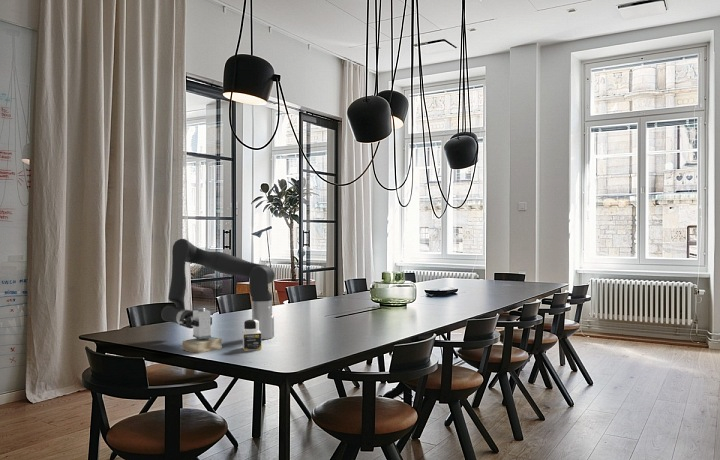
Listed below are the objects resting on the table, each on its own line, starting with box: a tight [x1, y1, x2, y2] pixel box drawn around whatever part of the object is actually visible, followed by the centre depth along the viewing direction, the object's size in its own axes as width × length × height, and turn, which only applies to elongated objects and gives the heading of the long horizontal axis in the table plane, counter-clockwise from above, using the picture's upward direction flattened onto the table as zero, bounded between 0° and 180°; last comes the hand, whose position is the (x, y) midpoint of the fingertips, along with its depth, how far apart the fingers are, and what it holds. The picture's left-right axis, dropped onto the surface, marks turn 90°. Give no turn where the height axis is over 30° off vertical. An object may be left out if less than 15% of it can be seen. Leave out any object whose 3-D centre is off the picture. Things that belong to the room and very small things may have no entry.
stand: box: [182, 336, 223, 354], centre depth 243 cm, size 12×10×4 cm
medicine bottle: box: [242, 319, 262, 352], centre depth 243 cm, size 7×7×12 cm
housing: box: [192, 307, 212, 339], centre depth 243 cm, size 7×5×12 cm
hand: (204, 323), depth 241 cm, fingers closed on housing, 5 cm apart
